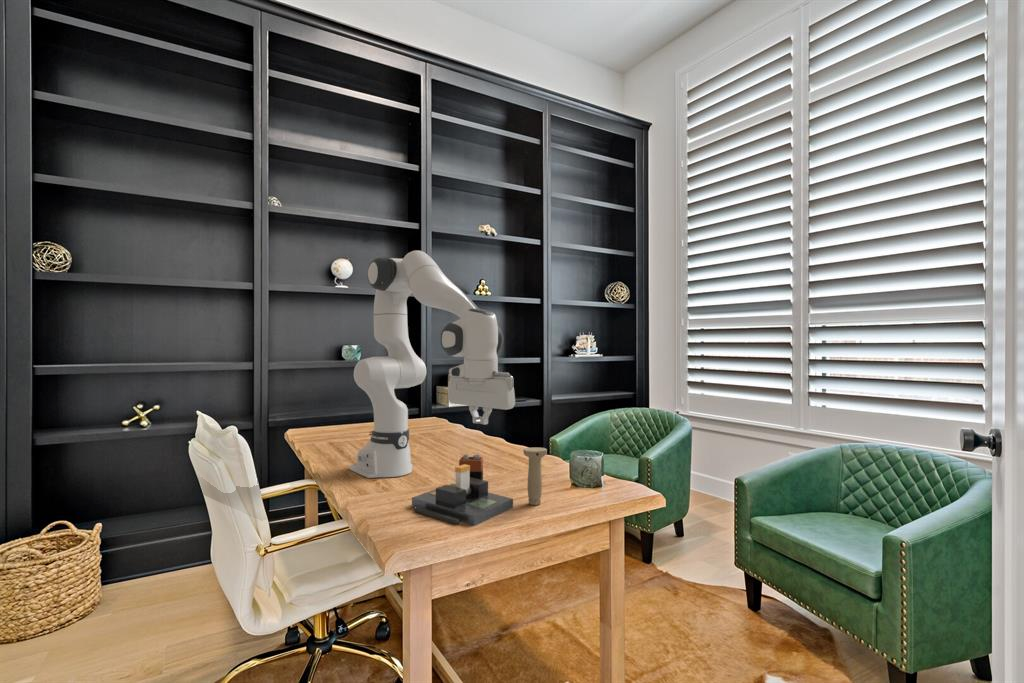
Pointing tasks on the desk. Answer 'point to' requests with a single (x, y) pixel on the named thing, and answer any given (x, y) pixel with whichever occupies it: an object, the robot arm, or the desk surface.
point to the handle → (534, 473)
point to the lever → (463, 477)
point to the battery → (473, 465)
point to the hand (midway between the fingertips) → (480, 423)
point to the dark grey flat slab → (436, 515)
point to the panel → (464, 509)
